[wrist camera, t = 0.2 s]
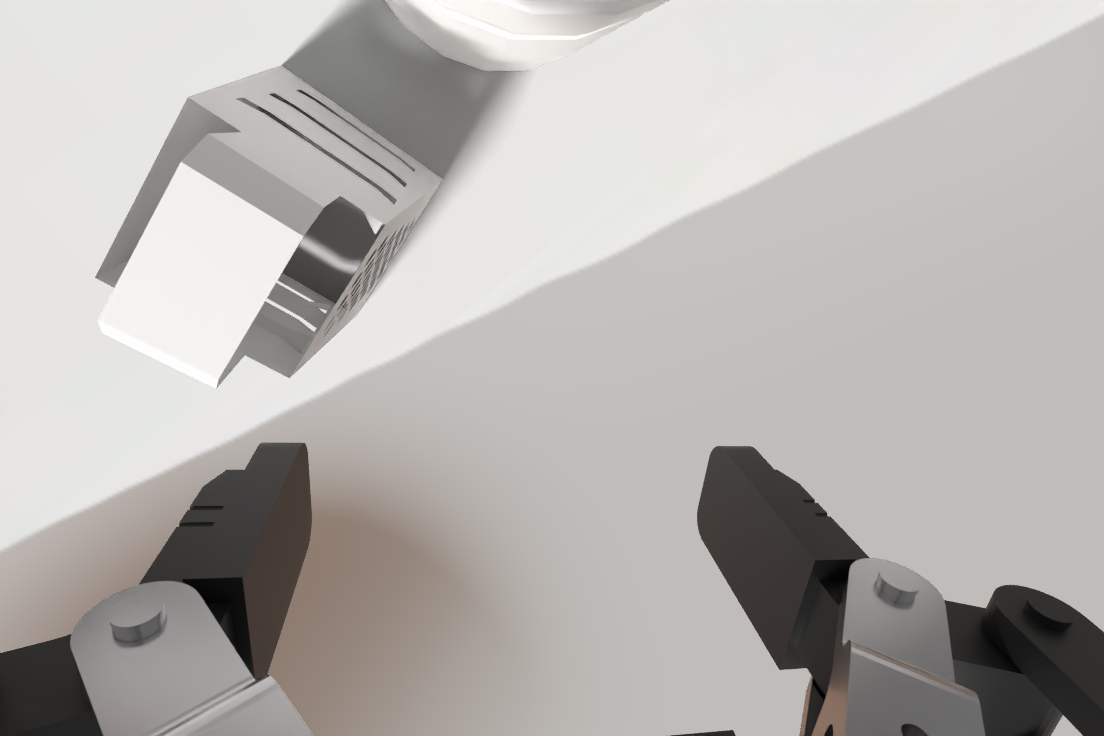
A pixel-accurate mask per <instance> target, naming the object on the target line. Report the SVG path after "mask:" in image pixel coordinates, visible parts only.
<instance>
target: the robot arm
mask: <svg viewBox="0 0 1104 736" xmlns="http://www.w3.org/2000/svg"><path fill="white" fill-rule="evenodd" d="M697 522H698V529H699V533H700V536H701V539H702V540H703V542H704V544H705V546H706V547H707V549H708V551H709V552H710V554H711V556H712V557H713V559H714V561H715V562H716V564H717V566H718V567H719V569H720V571H721V572H722V574H723V576H724V577H725V579H726V581H727V583H728V584H729V586H730V587H731V589H732V591H733V593H734V594H735V596H736V597H737V599H738V601H739V603H740V604H741V606H742V608H743V609H744V611H745V612H746V614H747V616H748V618H749V619H750V621H751V623H752V624H753V626H754V628H755V630H756V631H757V633H758V634H759V636H760V638H761V639H762V641H763V643H764V645H765V646H766V648H767V650H768V651H769V653H770V655H771V656H772V658H773V660H774V661H775V663H776V665H777V666H778V668H779V669H780V670H784V669H798V668H807V669H808V670H809V672H810V673H811V675H812V676H811V679H810V681H809V684H808V687H807V690H806V696H805V703H804V710H803V715H802V723H801V728H800V735H799V736H1051V734H1052V732H1053V731H1054V729H1055V727H1056V725H1057V724H1058V722H1059V721H1060V719H1061V717H1062V716H1063V715H1064V716H1065V717H1066V718H1067V719H1068V720H1069V721H1070V722H1071V723H1072V724H1073V725H1074V726H1075V728H1076V729H1077V730H1078V731H1079V732H1080V733H1081V734H1082V735H1083V736H1104V632H1103V631H1102V630H1100V629H1099V628H1098V627H1097V626H1096V625H1094V624H1093V623H1092V622H1091V621H1090V620H1088V619H1087V618H1086V617H1085V616H1083V615H1082V614H1081V613H1080V612H1078V611H1077V610H1075V609H1074V608H1072V607H1071V606H1069V605H1067V604H1066V603H1064V602H1062V601H1060V600H1059V599H1057V598H1055V597H1053V596H1050V595H1048V594H1045V593H1043V592H1040V591H1038V590H1034V589H1031V588H1027V587H1023V586H1017V585H1004V586H1001V587H998V588H997V589H996V590H995V591H994V593H993V595H992V597H991V599H990V601H989V603H988V605H987V607H986V608H981V607H976V606H971V605H966V604H960V603H955V602H950V601H946V600H944V599H943V597H942V595H941V594H940V592H939V591H938V590H937V589H936V588H935V587H934V586H933V585H932V584H931V583H930V582H929V581H928V580H926V579H925V578H924V577H922V576H921V575H919V574H918V573H916V572H914V571H913V570H911V569H909V568H907V567H905V566H902V565H900V564H897V563H894V562H891V561H888V560H883V559H877V558H869V557H868V556H867V555H866V554H865V553H864V552H863V551H862V549H860V547H859V546H858V545H857V544H856V543H855V542H854V541H853V540H852V539H851V538H850V537H849V536H848V535H847V534H846V532H845V531H844V530H843V529H842V528H841V527H840V526H839V525H838V524H837V523H836V522H835V521H834V520H833V519H832V518H831V517H828V516H827V512H826V511H825V510H823V508H822V507H821V506H820V505H819V504H818V503H815V502H814V499H813V498H812V497H811V496H810V495H809V494H808V492H807V491H806V490H805V489H804V488H803V487H802V486H801V485H800V484H799V483H797V482H796V481H794V480H793V479H791V478H789V477H788V476H786V475H785V474H783V473H781V472H780V471H778V470H774V469H773V468H772V466H771V465H770V464H769V463H768V462H767V461H766V460H765V459H764V458H763V457H762V456H761V454H759V452H758V451H757V450H756V449H755V448H753V447H750V446H717V447H715V448H714V449H713V450H712V452H711V454H710V457H709V461H708V466H707V470H706V475H705V479H704V484H703V488H702V492H701V497H700V501H699V506H698V512H697ZM311 525H312V510H311V495H310V479H309V464H308V452H307V447H306V444H305V443H261V444H259V446H258V447H257V449H256V451H255V453H254V455H253V456H252V458H251V460H250V462H249V463H248V465H247V467H246V469H245V470H226V471H225V472H223V473H222V474H220V475H219V476H217V477H216V478H215V479H213V480H212V481H210V482H209V483H208V484H206V485H205V486H204V487H203V488H202V489H201V491H200V492H199V494H198V495H197V497H196V498H195V500H194V501H193V503H192V504H191V506H190V510H188V511H187V512H186V514H185V515H184V516H183V518H182V520H181V521H180V525H179V527H176V529H175V530H174V532H173V533H172V535H171V536H170V538H169V539H168V541H167V542H166V544H165V546H164V547H163V549H162V550H161V552H160V553H159V555H158V556H157V558H156V559H155V561H154V562H153V564H152V565H151V567H150V568H149V570H148V571H147V573H146V575H145V576H144V578H143V579H142V580H141V582H140V583H139V585H136V586H133V587H130V588H127V589H124V590H122V591H120V592H117V593H115V594H113V595H111V596H109V597H108V598H106V599H104V600H102V601H101V602H99V603H98V604H97V605H95V606H94V607H93V608H92V609H90V610H89V611H88V612H87V613H86V614H85V615H84V616H83V617H82V618H81V619H80V620H79V622H78V623H77V624H76V626H75V627H74V630H73V632H72V634H70V635H67V636H64V637H61V638H57V639H54V640H51V641H47V642H43V643H39V644H35V645H31V646H27V647H23V648H20V649H15V650H11V651H7V652H3V653H0V736H313V734H312V733H311V732H310V730H309V728H308V727H307V726H306V724H305V723H304V721H303V720H302V718H301V717H300V715H299V714H298V713H297V711H296V709H295V708H294V706H293V705H292V703H291V702H290V701H289V699H288V698H287V696H286V695H285V693H284V692H283V690H282V689H281V687H280V686H279V685H278V683H277V682H276V681H275V680H274V679H273V678H272V677H271V676H269V675H267V674H268V670H269V667H270V664H271V661H272V658H273V655H274V652H275V649H276V646H277V643H278V640H279V636H280V633H281V630H282V627H283V624H284V621H285V618H286V615H287V612H288V608H289V605H290V602H291V599H292V596H293V593H294V590H295V587H296V584H297V580H298V577H299V574H300V571H301V568H302V565H303V562H304V559H305V556H306V553H307V549H308V546H309V541H310V535H311ZM672 736H735V733H734V731H733V730H730V731H718V732H707V733H695V734H684V735H672Z"/></svg>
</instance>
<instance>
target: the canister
mask: <svg viewBox="0 0 1104 736" xmlns="http://www.w3.org/2000/svg"><path fill="white" fill-rule="evenodd" d="M667 1H669V0H385V2H386V3H387V4H388V6H389V7H390V9H391V10H392V11H393V13H394V14H395V15H396V17H397V18H398V19H399V21H400V22H401V23H402V25H403V26H404V27H405V28H406V29H408V30H409V31H410V32H412V33H413V34H414V35H416V36H417V37H418V38H419V39H421V40H422V41H423V42H425V43H426V44H427V45H429V46H430V47H431V48H433V49H434V50H435V51H437V52H438V53H439V54H441V55H442V56H444V57H447V58H449V59H452V60H455V61H458V62H461V63H464V64H466V65H469V66H472V67H475V68H478V69H481V70H483V71H528V70H531V69H533V68H536V67H539V66H541V65H544V64H547V63H550V62H552V61H555V60H558V59H560V58H563V57H566V56H568V55H570V54H571V53H573V52H575V51H577V50H579V49H581V48H583V47H584V46H586V45H588V44H590V43H592V42H594V41H595V40H597V39H599V38H601V37H603V36H605V35H606V34H608V33H610V32H612V31H614V30H616V29H617V28H619V27H621V26H623V25H625V24H627V23H629V22H630V21H632V20H634V19H636V18H638V17H640V16H641V15H642V14H643V13H645V12H647V11H650V10H652V9H654V8H656V7H658V6H660V5H662V4H664V3H665V2H667Z"/></svg>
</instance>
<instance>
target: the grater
mask: <svg viewBox="0 0 1104 736" xmlns="http://www.w3.org/2000/svg"><path fill="white" fill-rule="evenodd" d="M296 90H302V91H304V92H306V93H307V94H309V95H311V96H312V97H314V98H316V99H317V100H319V101H320V102H322V103H323V104H325V105H326V106H327V107H329V108H330V109H332V110H333V111H335V112H336V113H337V114H339V115H340V116H342V117H343V118H345V119H346V120H347V121H349V122H350V123H352V124H353V125H355V126H356V127H358V128H359V129H360V130H362V131H363V132H365V133H366V134H368V135H369V136H370V137H372V138H373V139H375V140H376V141H378V142H379V143H380V144H382V145H383V146H385V147H386V148H388V149H389V150H390V151H392V152H393V153H395V154H396V155H398V156H399V157H400V158H402V159H403V160H404V161H405V162H407V163H408V164H409V165H410V166H412V167H413V168H414V169H415V171H414V172H413V171H412V170H411V169H410V168H409V167H407V166H406V165H405V164H404V163H403V162H402V161H401V160H399V159H398V158H397V157H395V156H394V155H392V154H391V153H389V152H388V151H386V150H385V149H384V148H382V147H381V146H379V145H378V144H376V143H375V142H374V141H372V140H371V139H369V138H368V137H366V136H365V135H364V134H362V133H361V132H359V131H358V130H356V129H355V128H353V127H352V126H351V125H349V124H348V123H346V122H345V121H343V120H342V119H340V118H339V117H338V116H336V115H335V114H333V113H332V112H330V111H329V110H327V109H326V108H325V107H323V106H322V105H320V104H319V103H317V102H316V101H314V100H313V99H311V98H309V97H307V96H305V95H304V94H302V93H300V92H298V91H296ZM273 93H275V94H277V95H279V96H280V97H282V98H284V99H285V100H287V101H289V102H290V103H292V104H294V105H295V106H297V107H299V108H300V109H301V110H303V111H304V112H306V113H307V114H309V115H310V116H312V117H313V118H315V119H316V120H317V121H319V122H320V123H322V124H323V125H325V126H326V127H328V128H329V129H331V130H332V131H333V132H335V133H336V134H338V135H339V136H341V137H342V138H344V139H345V140H347V141H348V142H350V143H351V144H352V145H354V146H355V147H357V148H358V149H360V150H361V151H363V152H364V153H366V154H367V155H368V156H370V157H371V158H373V159H374V160H376V161H377V162H379V163H380V164H382V165H383V166H384V167H386V168H387V169H389V170H390V171H392V172H393V173H394V174H395V175H397V176H398V177H399V178H400V179H402V180H403V181H404V182H405V183H407V184H406V186H405V187H404V186H403V185H402V184H401V183H399V182H398V181H397V180H396V179H395V178H394V177H393V176H392V175H391V174H389V173H388V172H387V171H385V170H384V169H382V168H381V167H379V166H378V165H376V164H375V163H374V162H372V161H371V160H369V159H368V158H366V157H365V156H363V155H362V154H360V153H359V152H357V151H356V150H355V149H353V148H352V147H350V146H349V145H347V144H346V143H344V142H343V141H341V140H340V139H338V138H337V137H336V136H334V135H333V134H331V133H330V132H328V131H327V130H325V129H324V128H322V127H321V126H319V125H318V124H317V123H315V122H314V121H312V120H311V119H309V118H308V117H306V116H305V115H303V114H302V113H300V112H299V111H298V110H296V109H295V108H293V107H291V106H290V105H288V104H286V103H284V102H282V101H280V100H278V99H276V98H275V97H273V96H271V95H269V94H273ZM259 106H260V107H261V108H263V109H265V110H267V111H268V112H270V113H272V114H273V115H275V116H276V117H278V118H279V119H281V120H282V121H284V122H285V123H287V124H288V125H290V126H291V127H292V128H294V129H295V130H297V131H298V132H300V133H301V134H303V135H304V136H306V137H307V138H309V139H310V140H312V141H313V142H315V143H316V144H318V145H319V146H321V147H322V148H324V149H325V150H327V151H328V152H330V153H331V154H333V155H334V156H336V157H337V158H339V159H340V160H342V161H343V162H345V163H346V164H348V165H349V166H351V167H352V168H354V169H355V170H357V171H358V172H359V173H361V174H362V175H364V176H365V177H367V178H368V179H370V180H371V181H373V182H374V183H376V184H377V185H379V186H380V187H381V188H383V189H384V190H385V191H386V192H388V193H389V194H390V195H391V196H392V197H394V198H395V199H396V200H397V201H396V203H395V204H393V203H392V202H391V201H390V200H389V199H387V198H386V197H385V196H384V195H383V194H382V193H381V192H380V191H379V190H378V189H377V188H375V187H374V186H372V185H371V184H369V183H368V182H366V181H365V180H363V179H362V178H360V177H359V176H357V175H356V174H354V173H353V172H351V171H350V170H348V169H347V168H345V167H344V166H342V165H341V164H339V163H338V162H336V161H335V160H333V159H332V158H330V157H329V156H327V155H326V154H324V153H323V152H321V151H320V150H318V149H317V148H315V147H314V146H312V145H311V144H309V143H308V142H306V141H305V140H303V139H302V138H300V137H299V136H297V135H296V134H294V133H293V132H291V131H290V130H288V129H287V128H285V127H284V126H282V125H281V124H279V123H278V122H276V121H275V120H273V119H272V118H270V117H269V116H267V115H266V114H264V113H262V112H260V111H259V110H257V109H258V107H259ZM442 180H443V179H442V178H441V177H439V176H438V175H436V174H435V173H433V172H432V171H431V170H429V169H428V168H426V167H425V166H423V165H422V164H421V163H419V162H418V161H416V160H415V159H414V158H412V157H411V156H409V155H408V154H406V153H405V152H404V151H402V150H401V149H399V148H398V147H397V146H395V145H394V144H392V143H391V142H389V141H388V140H387V139H385V138H384V137H382V136H381V135H380V134H378V133H377V132H375V131H374V130H372V129H371V128H370V127H368V126H367V125H365V124H364V123H362V122H361V121H360V120H358V119H357V118H355V117H354V116H353V115H351V114H350V113H348V112H347V111H345V110H344V109H343V108H341V107H340V106H338V105H337V104H336V103H334V102H333V101H331V100H330V99H328V98H327V97H326V96H324V95H323V94H321V93H320V92H319V91H317V90H316V89H314V88H313V87H311V86H310V85H309V84H307V83H306V82H304V81H303V80H302V79H300V78H299V77H297V76H296V75H294V74H293V73H292V72H290V71H289V70H287V69H286V68H284V67H283V66H282V65H281V66H278V67H275V68H272V69H269V70H266V71H263V72H260V73H257V74H255V75H252V76H249V77H246V78H243V79H240V80H237V81H234V82H231V83H228V84H225V85H222V86H219V87H216V88H213V89H211V90H208V91H205V92H202V93H199V94H196V95H193V96H190V97H188V98H187V100H186V102H185V104H184V106H183V108H182V110H181V112H180V114H179V116H178V118H177V120H176V121H175V123H174V125H173V127H172V129H171V131H170V133H169V135H168V137H167V139H166V141H165V143H164V145H163V147H162V149H161V151H160V153H159V155H158V156H157V158H156V160H155V162H154V164H153V166H152V168H151V170H150V172H149V174H148V176H147V178H146V180H145V182H144V184H143V186H142V188H141V190H140V191H139V193H138V195H137V197H136V199H135V201H134V203H133V205H132V207H131V209H130V211H129V213H128V215H127V217H126V219H125V221H124V223H123V225H122V226H121V228H120V230H119V232H118V234H117V236H116V238H115V240H114V242H113V244H112V246H111V248H110V250H109V252H108V254H107V256H106V258H105V259H104V261H103V263H102V265H101V267H100V269H99V271H98V273H97V275H96V277H95V278H97V279H99V280H101V281H103V282H104V283H106V284H108V285H110V286H112V287H114V290H113V292H112V294H111V295H110V297H109V299H108V301H107V303H106V305H105V307H104V309H103V311H102V313H101V315H100V316H99V318H98V322H99V325H100V328H101V331H102V333H103V334H105V335H107V336H109V337H111V338H113V339H116V340H118V341H120V342H122V343H124V344H126V345H128V346H130V347H132V348H134V349H136V350H138V351H140V352H142V353H144V354H146V355H148V356H150V357H152V358H154V359H156V360H159V361H161V362H163V363H165V364H167V365H169V366H171V367H173V368H175V369H177V370H179V371H181V372H183V373H185V374H187V375H189V376H191V377H193V378H195V379H197V380H200V381H202V382H204V383H206V384H208V385H210V386H212V387H214V388H217V387H218V386H219V385H220V384H221V382H222V381H223V380H224V379H225V378H226V377H227V375H228V374H229V373H230V372H231V371H232V370H233V368H234V367H235V366H236V365H237V364H238V363H239V361H240V360H241V359H242V358H243V357H244V355H246V356H248V357H250V358H252V359H253V360H255V361H257V362H259V363H261V364H263V365H265V366H267V367H269V368H271V369H273V370H275V371H277V372H279V373H281V374H283V375H284V376H286V377H288V378H290V377H291V376H292V375H293V374H294V373H295V372H296V371H298V370H299V369H300V368H301V367H302V366H303V365H304V364H305V363H306V362H307V361H308V360H309V359H310V358H311V357H313V356H314V355H315V354H316V353H317V352H318V351H319V350H320V349H321V348H322V347H323V346H324V345H325V344H326V343H328V342H329V341H330V340H331V339H332V338H333V337H334V336H335V335H336V334H337V333H338V332H339V331H340V330H341V329H342V328H344V327H345V326H346V325H347V324H348V323H349V322H350V321H351V320H352V319H353V318H354V317H355V316H356V315H357V314H358V312H359V310H360V309H361V307H362V306H363V304H364V303H365V301H366V299H367V298H368V296H369V295H370V293H371V292H372V290H373V289H374V287H375V285H376V284H377V282H378V281H379V279H380V278H381V276H382V274H383V273H384V271H385V270H386V268H387V267H388V265H389V263H390V262H391V260H392V259H393V257H394V256H395V254H396V252H397V251H398V249H399V248H400V246H401V245H402V243H403V242H404V240H405V238H406V237H407V235H408V234H409V232H410V231H411V229H412V227H413V226H414V224H415V223H416V221H417V220H418V218H419V216H420V215H421V213H422V212H423V210H424V209H425V207H426V205H427V204H428V202H429V201H430V199H431V198H432V196H433V194H434V193H435V191H436V190H437V188H438V187H439V185H440V184H441V182H442ZM339 196H341V197H343V198H344V199H346V200H347V201H349V202H350V203H352V204H353V205H355V206H357V207H358V208H360V209H361V210H363V212H364V214H365V216H366V218H367V220H368V222H369V224H370V226H371V227H372V229H373V231H374V233H375V235H376V233H377V232H378V230H379V228H380V227H381V225H382V224H384V225H385V226H384V228H383V229H382V231H381V233H380V234H379V236H378V237H377V239H376V241H375V242H374V244H373V245H372V247H371V249H370V250H369V252H368V253H367V255H366V257H365V258H364V260H363V261H362V263H361V265H360V266H359V268H358V269H357V271H356V273H355V274H354V276H353V277H352V279H351V281H350V282H349V284H348V285H347V287H346V289H345V290H344V292H343V293H342V295H341V297H340V298H339V300H338V301H337V303H336V304H335V303H333V302H331V301H330V300H328V299H326V298H325V297H323V296H321V295H319V294H318V293H316V292H314V291H312V290H311V289H309V288H307V287H306V286H304V285H302V284H300V283H299V282H297V281H295V280H293V279H292V278H290V277H288V276H287V275H285V274H283V273H282V272H283V270H284V268H285V267H286V265H287V263H288V262H289V260H290V258H291V257H292V255H293V253H294V252H295V250H296V248H297V246H298V245H299V243H300V241H301V240H302V238H303V236H304V235H305V234H306V232H307V231H308V229H309V228H310V227H311V225H312V224H313V222H314V221H315V220H316V218H317V217H318V215H319V214H320V213H321V211H322V210H323V208H324V207H325V206H327V205H328V204H330V203H331V202H332V201H334V200H335V199H337V198H338V197H339ZM414 219H415V220H414ZM413 220H414V222H413ZM409 222H410V223H409ZM412 222H413V223H414V224H413V223H412ZM408 223H409V225H408ZM411 223H412V224H413V226H412V225H411ZM407 225H408V226H410V225H411V226H412V227H411V226H410V227H411V229H410V228H409V227H407V228H409V229H410V230H409V229H407V228H406V226H407ZM403 226H404V227H403ZM402 227H403V229H402V230H403V231H404V229H405V228H406V229H407V231H406V230H405V231H406V232H405V231H404V232H405V234H404V233H403V231H402V230H401V228H402ZM396 230H397V231H396ZM400 230H401V232H402V233H403V234H404V235H405V236H404V235H403V234H402V233H401V232H400V233H401V235H400V236H399V235H398V236H399V238H400V239H399V238H398V239H399V241H398V239H397V238H396V236H397V234H398V233H399V231H400ZM408 230H409V232H408ZM395 231H396V233H395ZM407 232H408V233H407ZM394 233H395V235H396V236H395V235H394V237H395V238H396V239H397V241H398V242H397V241H396V239H395V238H394V237H393V238H394V240H393V241H392V240H391V241H392V243H391V244H390V242H391V241H390V242H389V240H390V239H391V237H392V236H393V234H394ZM400 233H399V234H400ZM402 235H403V236H404V238H403V237H402ZM387 236H388V238H387V239H386V237H387ZM398 236H397V237H398ZM401 237H402V238H403V239H404V240H403V239H402V238H401ZM393 238H392V239H393ZM385 239H386V241H385V243H386V242H387V243H386V245H385V247H384V248H383V250H382V251H381V253H382V252H383V251H384V252H383V254H384V255H385V253H386V252H387V250H388V249H389V247H390V246H391V245H392V246H391V248H390V249H391V250H392V248H393V247H394V245H395V244H396V242H397V244H399V242H400V241H401V239H402V240H403V241H402V243H401V242H400V243H401V244H400V246H399V245H397V244H396V245H397V246H396V245H395V246H396V248H395V247H394V248H395V250H394V251H395V252H394V251H393V250H392V251H393V252H394V253H393V252H392V251H391V250H390V249H389V250H390V252H389V251H388V252H389V254H388V255H389V256H388V255H387V254H386V255H387V257H388V258H387V257H386V258H387V260H386V261H388V259H389V258H390V256H391V255H392V254H391V253H393V254H394V255H392V256H393V257H392V256H391V257H392V259H391V258H390V259H391V260H390V259H389V260H390V262H389V261H388V262H389V263H388V262H386V261H385V260H384V258H385V256H386V255H385V256H384V255H383V254H382V255H381V253H380V254H379V252H380V250H381V249H382V247H383V246H384V244H385V243H384V244H383V246H382V247H381V249H380V250H379V251H378V249H379V248H380V246H381V244H382V243H383V241H384V240H385ZM395 241H396V242H395ZM388 242H389V244H390V246H389V247H388V245H389V244H388ZM394 242H395V243H394ZM387 244H388V245H387ZM398 246H399V247H398ZM387 247H388V249H387ZM394 248H393V249H394ZM397 248H398V249H397ZM376 249H377V250H376ZM386 249H387V250H386ZM375 250H376V252H375V254H374V255H373V257H372V259H373V258H374V260H373V262H372V263H371V265H372V264H373V263H374V264H375V262H376V261H377V259H378V258H379V256H380V255H381V257H382V256H383V257H384V258H383V257H382V259H381V260H380V259H379V260H380V262H381V263H380V262H379V263H380V265H379V263H378V261H379V260H378V261H377V263H378V265H379V267H380V268H379V267H378V268H379V269H378V268H377V266H378V265H377V266H376V264H377V263H376V264H375V265H374V264H373V266H372V267H371V269H370V270H369V272H370V271H371V270H372V271H371V273H370V274H369V272H368V273H367V275H368V274H369V276H370V275H371V276H370V278H369V279H368V278H367V279H368V281H369V282H368V281H367V282H368V284H369V285H368V284H367V282H366V280H367V279H366V280H365V278H366V277H367V275H366V276H365V274H366V272H367V271H368V269H369V268H370V266H371V265H370V266H369V268H368V269H367V271H366V272H365V270H366V268H367V267H368V265H369V264H370V262H371V261H372V259H371V260H370V261H369V263H368V264H367V265H366V263H367V262H368V260H369V258H370V257H371V255H372V254H373V252H374V251H375ZM377 251H378V252H377ZM388 252H387V253H388ZM378 254H379V256H378V257H377V255H378ZM390 254H391V255H390ZM381 257H380V258H381ZM386 258H385V259H386ZM383 260H384V261H385V262H386V264H385V263H384V264H385V265H384V264H383V262H384V261H383ZM387 263H388V264H387ZM382 264H383V265H384V266H385V267H383V266H382ZM365 265H366V266H365ZM386 265H387V266H386ZM375 266H376V268H377V269H378V271H377V270H376V271H377V273H378V274H377V273H376V274H377V275H376V274H375V273H374V274H375V275H376V277H379V276H380V275H379V274H380V272H381V271H380V270H381V268H382V267H383V268H384V269H383V268H382V269H383V270H384V271H383V273H382V272H381V273H382V274H381V276H380V277H379V279H378V278H376V277H375V276H374V277H375V278H376V279H375V281H374V280H373V278H374V277H373V275H374V274H373V272H374V271H375V269H376V268H375ZM381 266H382V267H381ZM374 268H375V269H374ZM362 271H363V272H362ZM376 271H375V272H376ZM361 272H362V274H361V276H360V278H359V279H358V281H357V282H356V284H357V283H358V282H359V280H360V279H361V281H360V282H359V284H360V283H361V284H360V286H359V284H358V286H359V288H358V290H359V292H360V293H361V291H362V290H363V288H364V287H363V285H364V283H365V282H366V284H367V285H368V287H367V285H366V284H365V285H366V287H367V288H366V287H365V288H366V290H367V291H366V290H365V291H366V293H365V291H364V290H363V291H364V293H365V294H364V293H363V291H362V293H363V294H364V296H363V294H362V293H361V294H362V296H363V297H362V296H361V294H360V293H359V292H358V293H357V291H358V290H357V291H356V293H357V295H358V294H359V295H358V297H357V298H358V299H357V298H356V297H355V298H356V300H357V301H356V300H355V301H356V303H355V304H354V303H353V304H354V306H353V307H352V305H353V304H352V302H353V301H354V299H355V298H354V299H353V297H354V296H355V294H356V293H355V294H354V295H353V293H354V291H355V290H356V289H355V290H354V291H353V293H352V294H351V292H352V290H353V289H354V287H355V286H356V284H355V285H354V286H353V284H354V282H355V281H356V279H357V278H358V276H359V275H360V273H361ZM364 272H365V273H364ZM372 274H373V275H372ZM378 275H379V276H378ZM364 276H365V277H364ZM369 276H368V277H369ZM372 277H373V278H372ZM371 279H372V280H373V281H374V282H375V283H374V285H373V284H372V283H371V281H372V280H371ZM377 279H378V280H377ZM277 280H278V281H280V282H282V283H283V284H285V285H287V286H289V287H290V288H292V289H294V290H295V291H297V292H299V293H301V294H302V295H304V296H306V297H308V298H309V299H311V300H313V301H314V302H312V301H310V302H309V301H307V300H306V299H304V298H302V297H300V296H299V295H297V294H295V293H293V292H292V291H290V290H288V289H286V288H285V287H283V286H281V285H279V284H278V283H276V282H277ZM364 280H365V282H364V283H363V281H364ZM362 283H363V284H362ZM370 283H371V284H372V285H373V286H372V285H371V284H370ZM365 285H364V286H365ZM352 286H353V288H352ZM358 286H357V287H358ZM370 286H372V288H371V287H370ZM357 287H356V288H357ZM362 287H363V288H362ZM369 287H370V288H371V289H370V288H369ZM369 289H370V291H369ZM368 291H369V292H368ZM350 294H351V295H350ZM347 295H348V297H347V298H346V300H345V302H346V301H347V300H348V301H347V303H346V305H347V304H348V305H347V307H346V309H347V308H348V309H347V310H346V309H344V308H345V306H346V305H345V306H344V308H342V306H343V305H344V304H345V302H344V303H343V305H342V306H341V307H340V304H341V303H342V301H343V300H344V299H345V297H346V296H347ZM352 295H353V297H352V298H351V296H352ZM357 295H356V296H357ZM360 296H361V297H362V299H361V297H360ZM267 298H268V299H269V300H271V301H273V302H275V303H277V304H278V305H280V306H282V307H284V308H286V309H287V310H289V311H291V312H293V313H295V314H296V315H298V316H300V317H302V318H303V319H304V320H306V321H307V322H309V323H310V324H312V325H313V326H314V327H316V328H317V329H316V330H315V332H313V331H312V330H311V329H309V328H308V327H307V326H306V325H304V324H303V323H302V322H301V321H299V320H298V319H296V318H294V317H293V316H291V315H289V314H287V313H285V312H284V311H282V310H280V309H278V308H276V307H275V306H273V305H271V304H269V303H267V302H266V301H265V300H266V299H267ZM350 298H351V299H350ZM352 299H353V301H352V302H351V300H352ZM360 299H361V300H360ZM359 300H360V301H359ZM355 301H354V302H355ZM350 302H351V303H350ZM351 304H352V305H351ZM350 306H351V307H352V309H351V307H350ZM319 308H320V309H324V310H327V312H326V314H325V313H324V312H322V311H321V310H320V309H319ZM350 309H351V310H350ZM349 310H350V311H349Z"/></svg>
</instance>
